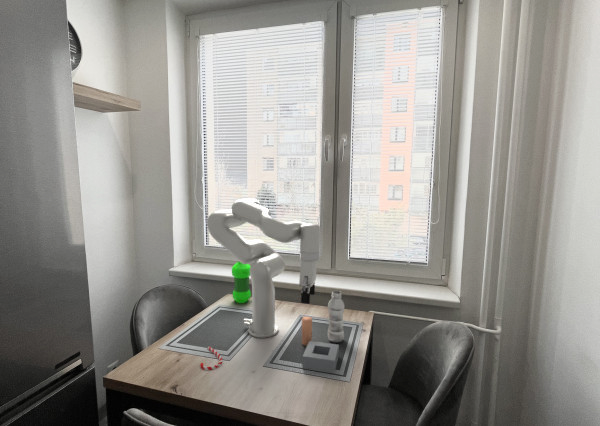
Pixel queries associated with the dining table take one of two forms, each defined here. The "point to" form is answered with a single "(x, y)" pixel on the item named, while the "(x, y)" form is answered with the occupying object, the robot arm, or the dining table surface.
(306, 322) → the peg
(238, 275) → the plastic bottle
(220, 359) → the candy cane
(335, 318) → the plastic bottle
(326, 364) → the socket block
